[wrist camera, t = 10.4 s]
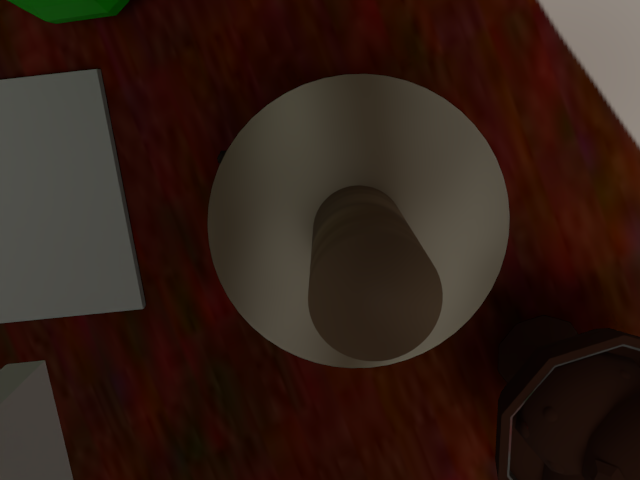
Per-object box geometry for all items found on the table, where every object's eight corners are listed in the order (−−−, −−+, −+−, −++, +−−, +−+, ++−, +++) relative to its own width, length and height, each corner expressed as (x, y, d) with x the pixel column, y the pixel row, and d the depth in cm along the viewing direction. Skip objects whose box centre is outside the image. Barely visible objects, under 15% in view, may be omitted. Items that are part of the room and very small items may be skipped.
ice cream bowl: (430, 309, 36) (503, 458, 22) (609, 251, 35) (811, 365, 21) (478, 453, 39) (572, 672, 24) (646, 401, 38) (850, 598, 23)
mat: (-76, 327, 37) (-83, 331, 36) (-144, 97, 33) (-153, 97, 33) (146, 305, 36) (143, 308, 36) (100, 69, 33) (96, 69, 32)
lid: (233, 367, 26) (188, 509, 17) (192, 90, 23) (111, 92, 14) (504, 342, 26) (598, 475, 17) (496, 59, 23) (606, 40, 14)
